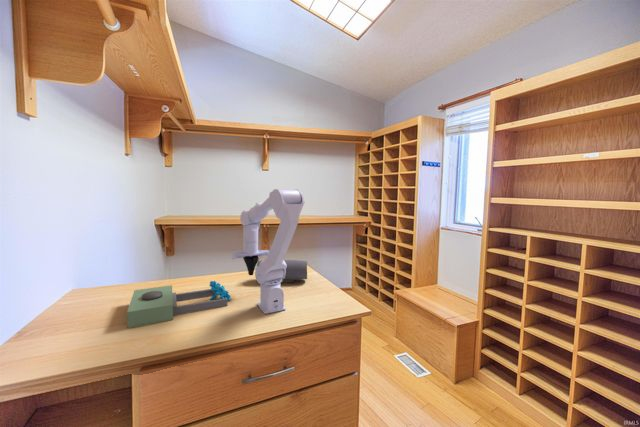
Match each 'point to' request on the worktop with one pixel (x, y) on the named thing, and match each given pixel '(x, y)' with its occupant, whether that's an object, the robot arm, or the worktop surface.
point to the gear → (219, 291)
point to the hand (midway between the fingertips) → (250, 274)
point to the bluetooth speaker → (294, 270)
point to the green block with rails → (165, 305)
